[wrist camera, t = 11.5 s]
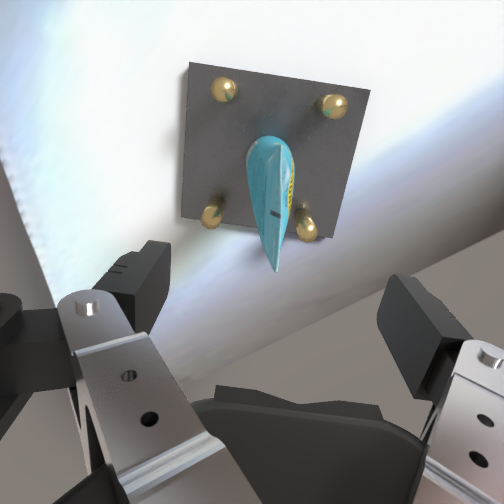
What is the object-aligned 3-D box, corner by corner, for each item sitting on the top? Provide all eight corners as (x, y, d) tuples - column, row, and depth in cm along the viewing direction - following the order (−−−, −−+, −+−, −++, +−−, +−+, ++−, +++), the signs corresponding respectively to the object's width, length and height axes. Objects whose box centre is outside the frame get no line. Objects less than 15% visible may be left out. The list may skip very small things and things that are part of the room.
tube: (292, 190, 38) (318, 271, 20) (249, 193, 38) (238, 275, 21) (290, 119, 35) (318, 142, 17) (243, 123, 35) (224, 150, 18)
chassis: (366, 90, 35) (387, 88, 29) (330, 233, 41) (341, 256, 36) (192, 63, 34) (177, 56, 28) (183, 213, 41) (170, 232, 35)
